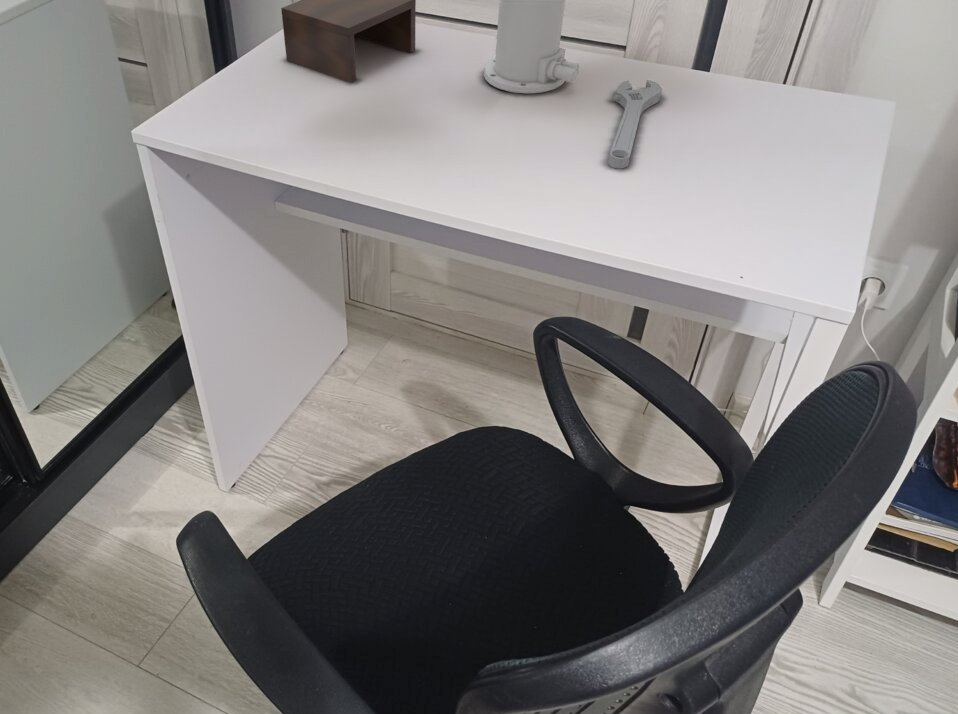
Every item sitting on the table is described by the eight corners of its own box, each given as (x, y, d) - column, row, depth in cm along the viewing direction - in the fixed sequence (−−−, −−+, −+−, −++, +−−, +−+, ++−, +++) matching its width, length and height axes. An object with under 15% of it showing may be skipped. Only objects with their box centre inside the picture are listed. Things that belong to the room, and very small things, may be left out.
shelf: (415, 50, 135) (415, -2, 129) (351, 82, 126) (348, 28, 120) (351, 31, 141) (349, -20, 135) (286, 60, 132) (281, 7, 127)
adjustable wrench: (627, 171, 106) (629, 158, 105) (578, 162, 108) (580, 150, 107) (662, 93, 122) (665, 81, 121) (619, 87, 124) (622, 75, 123)
